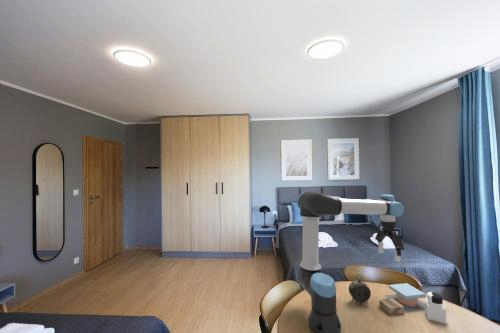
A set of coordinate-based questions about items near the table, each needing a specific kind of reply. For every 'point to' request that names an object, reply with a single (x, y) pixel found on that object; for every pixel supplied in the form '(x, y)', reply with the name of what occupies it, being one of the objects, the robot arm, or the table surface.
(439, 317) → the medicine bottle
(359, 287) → the alarm clock
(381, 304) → the cork riser
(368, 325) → the table surface
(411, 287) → the cover board
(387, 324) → the table surface
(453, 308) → the table surface
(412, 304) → the bowl
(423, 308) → the placemat
